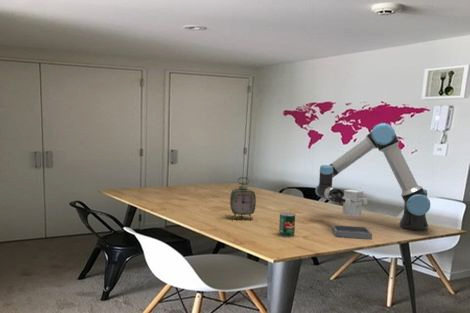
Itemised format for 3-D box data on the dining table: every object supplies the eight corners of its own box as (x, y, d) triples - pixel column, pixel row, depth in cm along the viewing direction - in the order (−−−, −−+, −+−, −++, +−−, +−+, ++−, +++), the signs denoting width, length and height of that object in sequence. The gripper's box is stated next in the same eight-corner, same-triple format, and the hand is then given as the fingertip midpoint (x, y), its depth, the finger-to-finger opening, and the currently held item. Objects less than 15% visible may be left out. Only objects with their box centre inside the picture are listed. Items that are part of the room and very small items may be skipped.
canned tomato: (284, 232, 215) (285, 211, 215) (297, 235, 210) (298, 214, 210) (275, 235, 209) (276, 213, 209) (289, 238, 204) (290, 216, 204)
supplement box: (342, 213, 216) (343, 190, 215) (349, 212, 221) (350, 189, 220) (354, 216, 210) (356, 192, 209) (361, 214, 216) (363, 191, 215)
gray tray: (365, 232, 222) (366, 227, 222) (371, 239, 208) (372, 233, 208) (332, 230, 224) (332, 225, 224) (335, 237, 210) (335, 231, 210)
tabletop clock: (230, 220, 239) (232, 177, 238) (229, 217, 248) (230, 176, 247) (254, 220, 241) (256, 178, 239) (252, 217, 250) (254, 176, 248)
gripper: (350, 200, 236) (375, 208, 215) (316, 201, 229) (339, 209, 207) (351, 187, 235) (376, 194, 214) (317, 188, 228) (339, 194, 207)
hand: (358, 201), depth 211 cm, fingers closed on supplement box, 9 cm apart
